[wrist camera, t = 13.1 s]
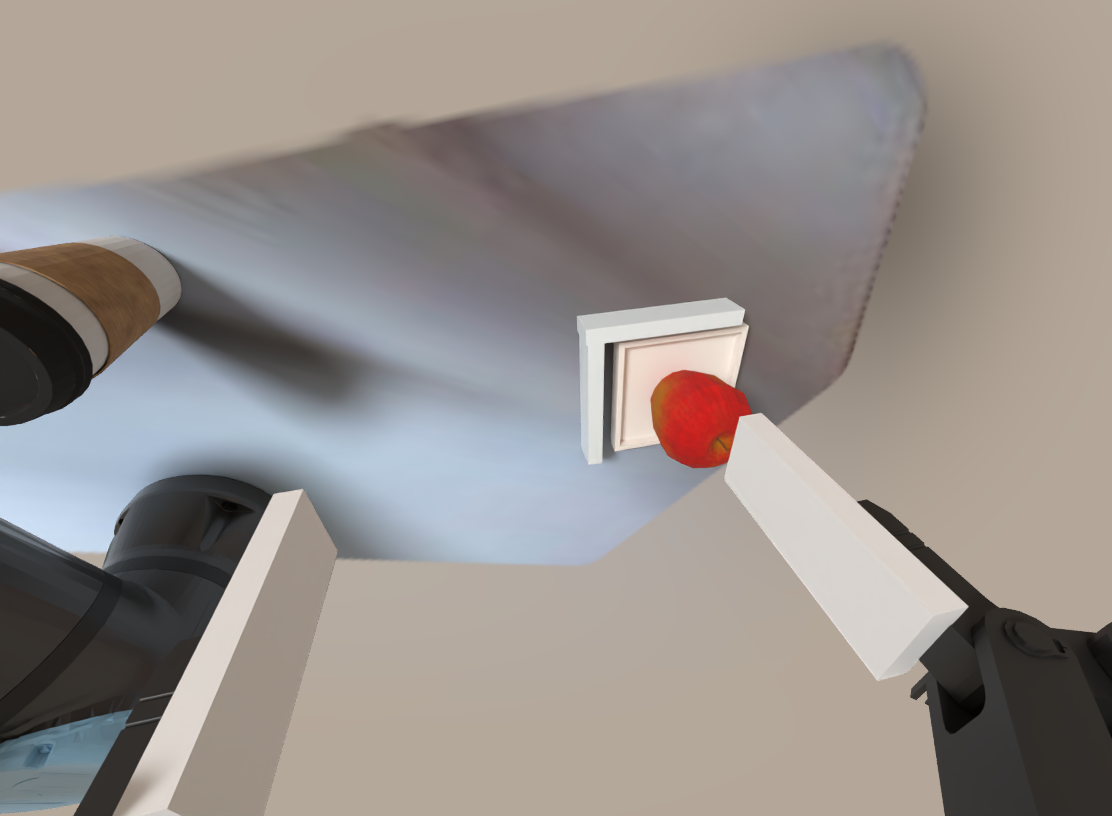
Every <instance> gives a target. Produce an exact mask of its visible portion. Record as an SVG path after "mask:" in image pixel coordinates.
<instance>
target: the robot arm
mask: <svg viewBox="0 0 1112 816" xmlns="http://www.w3.org/2000/svg"><path fill="white" fill-rule="evenodd" d="M724 480H725V481H726V483H727V484H728V485H729V486H730V488H731V489H732V490H733V492H734V493H735V494H736V496H737V497H738V498H739V500H740V501H741V502H742V504H743V505H744V506H745V508H746V509H747V510H748V512H749V513H750V514H751V515H752V517H753V518H754V519H755V521H756V522H757V523H758V524H759V526H760V527H761V528H762V530H763V531H764V533H765V534H766V535H767V537H768V538H769V539H770V540H771V541H772V543H773V544H774V546H775V547H776V548H777V550H778V551H779V552H780V553H781V555H782V556H783V557H784V559H785V560H786V561H787V563H788V564H789V565H790V567H791V568H792V569H793V571H794V572H795V573H796V575H797V576H798V577H799V579H800V580H801V581H802V583H803V584H804V585H805V586H806V588H807V589H808V590H809V592H810V593H811V594H812V596H813V597H814V598H815V600H816V601H817V602H818V603H819V605H820V606H821V607H822V609H823V610H824V611H825V613H826V614H827V615H828V617H829V618H830V619H831V621H832V622H833V623H834V625H835V626H836V627H837V628H838V630H839V631H840V632H841V634H842V635H843V636H844V638H845V639H846V640H847V642H848V643H849V644H850V646H851V647H852V648H853V649H854V651H855V652H856V653H857V655H858V656H859V657H860V658H861V660H862V661H863V663H864V664H865V665H866V667H867V668H868V669H869V671H870V672H871V673H872V674H873V676H874V677H875V678H876V680H877V681H879V680H883V679H886V678H890V677H894V676H897V675H901V674H905V673H907V672H908V671H909V670H910V669H911V668H912V667H913V666H914V665H915V664H916V663H917V661H918V660H920V662H922V664H923V665H924V666H925V667H926V668H927V669H928V671H929V672H928V673H927V674H926V675H925V676H924V677H923V678H922V679H921V680H920V681H919V682H918V683H917V684H916V685H915V686H914V687H913V688H912V689H911V696H910V697H911V698H913V699H915V700H917V699H918V698H919V697H920V696H921V695H922V694H923V693H924V692H925V691H926V690H927V697H928V699H927V700H926V702H925V704H927V705H929V710H930V717H931V724H932V731H933V738H934V745H935V751H936V758H937V765H938V772H939V778H940V785H941V792H942V798H943V805H944V812H945V816H1112V622H1111V623H1109V624H1108V625H1106V626H1105V627H1104V628H1102V629H1101V630H1100V631H1098V632H1097V633H1092V632H1083V631H1074V630H1065V629H1055V628H1050V627H1048V626H1047V625H1045V624H1044V623H1042V622H1041V621H1039V620H1037V619H1036V618H1034V617H1031V616H1029V615H1027V614H1025V613H1022V612H1020V611H1016V610H1012V609H1007V608H999V607H997V606H996V605H994V604H993V603H992V602H990V601H989V600H988V599H987V598H985V597H984V596H983V595H982V594H981V593H980V592H979V591H978V590H976V589H975V588H974V587H973V586H972V585H971V584H970V583H969V582H967V581H966V580H965V579H964V578H963V577H962V576H961V575H960V574H958V573H957V572H956V571H955V570H954V569H953V568H952V567H951V566H949V565H948V564H947V563H946V562H945V561H944V560H943V559H942V558H940V557H939V556H938V555H937V554H936V553H935V552H934V551H932V550H931V549H930V548H929V547H926V546H925V545H924V542H922V541H921V540H920V539H919V538H918V537H917V536H916V535H915V534H913V533H910V532H909V530H908V528H907V527H906V526H904V525H903V524H902V523H901V522H900V521H899V520H898V519H896V518H895V517H894V516H893V515H892V514H891V513H889V512H888V511H886V510H884V509H883V508H881V507H879V506H877V505H875V504H874V503H872V502H870V501H868V500H862V501H858V502H856V501H855V500H854V499H853V498H852V497H851V496H850V495H849V494H848V493H847V492H845V491H844V490H843V489H842V488H841V487H840V486H839V485H838V484H837V483H836V482H835V481H834V480H833V479H831V478H830V477H829V476H828V475H827V474H826V473H825V472H824V471H823V470H822V469H821V468H820V467H818V465H817V464H815V463H814V462H813V461H812V460H811V459H810V458H809V457H808V456H807V455H806V454H805V453H804V452H803V451H802V450H800V449H799V448H798V447H797V446H796V445H795V444H794V443H793V442H792V441H791V440H790V439H789V438H787V437H786V436H785V435H784V434H783V433H782V432H781V431H780V430H779V429H778V428H777V427H776V426H775V425H774V424H773V423H772V422H771V421H769V420H768V419H767V418H766V417H765V416H764V415H763V414H762V413H759V414H753V415H747V416H741V417H739V421H738V425H737V429H736V433H735V437H734V441H733V445H732V449H731V453H730V457H729V461H728V465H727V469H726V473H725V477H724ZM114 535H115V536H114V538H113V540H112V542H111V544H110V546H109V549H108V552H107V555H106V558H105V561H104V565H103V568H102V569H100V568H98V567H96V566H94V565H92V564H90V563H88V562H86V561H84V560H82V559H80V558H78V557H76V556H74V555H72V554H70V553H68V552H66V551H64V550H62V549H60V548H58V547H56V546H54V545H52V544H50V543H48V542H46V541H44V540H42V539H41V538H39V537H37V536H35V535H33V534H31V533H29V532H27V531H25V530H23V529H21V528H19V527H17V526H15V525H13V524H12V523H10V522H8V521H6V520H4V519H2V518H0V813H14V812H27V811H36V810H43V809H51V808H56V807H62V806H67V805H73V804H78V803H80V805H79V807H78V808H77V810H76V812H75V814H74V816H263V815H264V812H265V809H266V805H267V801H268V797H269V794H270V791H271V787H272V783H273V780H274V776H275V773H276V769H277V766H278V762H279V759H280V755H281V751H282V748H283V745H284V741H285V738H286V734H287V730H288V727H289V723H290V720H291V716H292V712H293V709H294V705H295V702H296V698H297V695H298V691H299V688H300V684H301V681H302V677H303V673H304V670H305V666H306V663H307V659H308V656H309V652H310V649H311V645H312V642H313V638H314V635H315V631H316V627H317V624H318V620H319V617H320V613H321V609H322V606H323V603H324V599H325V595H326V592H327V588H328V585H329V581H330V578H331V574H332V570H333V567H334V563H335V560H336V556H337V553H338V550H337V549H336V547H335V545H334V543H333V541H332V540H331V538H330V536H329V534H328V532H327V531H326V529H325V527H324V525H323V523H322V522H321V520H320V518H319V516H318V514H317V513H316V511H315V509H314V507H313V505H312V504H311V502H310V500H309V498H308V496H307V495H306V493H305V491H304V489H300V490H294V491H288V492H282V493H276V494H273V496H272V497H271V496H269V495H268V494H266V493H264V492H263V491H261V490H259V489H257V488H255V487H253V486H250V485H248V484H245V483H242V482H239V481H236V480H232V479H228V478H223V477H217V476H208V475H186V476H177V477H171V478H167V479H164V480H160V481H158V482H155V483H153V484H151V485H149V486H147V487H145V488H144V489H142V490H141V491H140V492H139V493H138V494H137V495H136V496H135V497H134V498H133V499H132V500H131V502H130V503H129V504H128V505H127V506H126V507H125V508H124V510H123V511H122V512H121V514H120V516H119V518H118V520H117V522H116V525H115V530H114Z"/></svg>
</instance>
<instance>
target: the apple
mask: <svg viewBox="0 0 1112 816" xmlns="http://www.w3.org/2000/svg"><path fill="white" fill-rule="evenodd" d="M650 401H651V413H652V422H653V428H654V430H655V433H656V435H657V437H658V439H659V441H660V443H661V445H662V447H663V449H664V450H665V452H666V453H667V455H668V456H669V457H671V458H673V459H675V460H676V461H678V462H680V463H682V464H684V465H687V466H689V467H692V468H709V467H716V466H719V465H721V464H724V463H727V462H728V461H729V457H730V453H731V449H732V445H733V441H734V437H735V433H736V429H737V425H738V421H739V417H741V416H747V415H752V412H751V410H750V407H749V404H748V402H747V400H746V397H745V395H744V393H743V392H741V391H739V390H737V389H736V388H734V387H732V386H730V385H729V384H727V383H725V382H724V381H722V380H721V379H719V378H718V377H716V376H715V375H711V374H706V373H702V372H697V371H690V370H681V371H677V372H672V373H671V374H669V375H668V376H666V377H665V378H663V379H662V380H661V381H660V382H659V383H658V385H657V386H656V387H655V389H654V391H653V394H652V396H651V399H650Z"/></svg>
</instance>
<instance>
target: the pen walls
mask: <svg viewBox="0 0 1112 816" xmlns="http://www.w3.org/2000/svg"><path fill="white" fill-rule="evenodd" d="M744 312H745V309H743V308H742V307H740V306H739V305H737V304H735V303H734V302H732V301H731V300H729V299H727V298H720V299H712V300H703V301H695V302H687V303H679V304H671V305H663V306H655V307H647V308H639V309H631V310H623V311H614V312H606V313H598V314H590V315H582V316H577V331H578V333H579V346H580V401H581V447H582V449H583V452H584V454H585V457H586V459H587V462H588V465H592V464H598V463H602V443H603V391H604V343H611V342H618V341H626V340H633V339H641V338H648V337H656V336H663V335H671V334H678V333H686V332H693V331H700V330H708V329H715V328H723V327H730V326H738V325H742V322H743V317H744Z"/></svg>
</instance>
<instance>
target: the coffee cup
mask: <svg viewBox="0 0 1112 816" xmlns="http://www.w3.org/2000/svg"><path fill="white" fill-rule="evenodd" d="M181 291H182V288H181V282H180V279H179V276H178V274H177V272H176V271H175V269H174V267H173V266H172V265H171V264H170V263H169V261H168V260H167V259H166V258H165V257H163V256H162V255H161V254H160V253H159V252H157V251H156V250H154V249H153V248H151V247H150V246H148V245H146V244H144V243H142V242H139V241H136V240H134V239H130V238H126V237H119V236H109V237H100V238H95V239H89V240H84V241H79V242H74V243H65V244H58V245H51V246H45V247H38V248H32V249H25V250H19V251H12V252H5V253H0V426H10V425H16V424H22V423H25V422H28V421H31V420H34V419H36V418H38V417H40V416H43V415H45V414H49V413H51V412H54V411H57V410H60V409H62V408H64V407H65V406H67V405H68V404H70V403H72V402H73V401H74V400H75V399H76V398H78V397H80V396H81V395H82V394H83V393H84V392H85V391H86V389H87V388H88V387H89V385H90V382H91V380H92V379H93V378H94V377H96V376H97V375H99V374H100V373H102V372H103V371H104V370H105V369H106V368H107V367H108V366H109V365H110V364H112V363H113V362H114V361H115V360H116V359H117V358H118V357H119V356H120V355H121V354H122V353H123V352H125V351H126V350H127V349H128V348H129V347H130V346H131V345H132V344H133V343H134V342H135V341H136V340H138V339H139V338H140V337H141V336H142V335H143V334H144V333H145V332H146V331H147V330H148V329H149V328H151V327H152V326H153V324H154V323H155V322H156V321H158V320H159V319H160V318H161V317H162V316H163V315H165V314H166V313H167V312H168V311H169V310H171V309H172V308H173V307H174V306H175V305H176V304H177V302H178V301H179V299H180V297H181Z"/></svg>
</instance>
